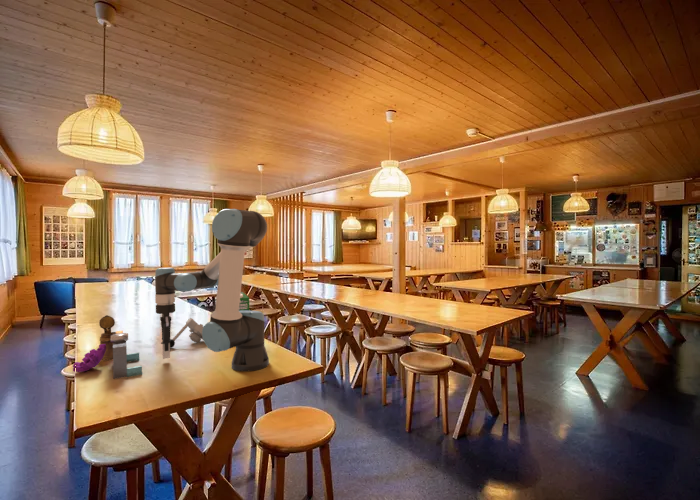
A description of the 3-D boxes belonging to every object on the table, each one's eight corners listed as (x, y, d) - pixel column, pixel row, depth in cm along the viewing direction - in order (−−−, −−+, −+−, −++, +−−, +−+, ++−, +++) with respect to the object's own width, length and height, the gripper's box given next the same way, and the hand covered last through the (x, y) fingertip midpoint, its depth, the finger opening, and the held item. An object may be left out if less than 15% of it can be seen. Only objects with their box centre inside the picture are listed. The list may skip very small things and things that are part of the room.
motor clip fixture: (142, 374, 141) (141, 338, 141) (110, 380, 136) (110, 342, 136) (139, 359, 160) (138, 327, 160) (111, 363, 155) (111, 330, 155)
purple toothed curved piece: (106, 362, 156) (105, 340, 156) (106, 373, 144) (105, 349, 144) (73, 368, 150) (73, 345, 150) (70, 379, 137) (70, 354, 137)
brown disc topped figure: (118, 351, 173) (117, 313, 173) (122, 357, 163) (122, 318, 163) (95, 354, 168) (95, 316, 167) (98, 362, 157) (98, 321, 157)
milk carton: (233, 343, 185) (232, 294, 185) (226, 339, 192) (226, 293, 192) (250, 340, 191) (249, 293, 191) (243, 336, 198) (242, 291, 198)
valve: (214, 334, 188) (194, 316, 182) (190, 364, 178) (167, 345, 171) (205, 333, 195) (186, 315, 189) (181, 361, 185) (159, 343, 178)
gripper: (177, 304, 152) (177, 360, 153) (173, 300, 163) (174, 352, 164) (157, 306, 148) (157, 363, 149) (154, 302, 159) (155, 355, 160)
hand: (166, 357), depth 156 cm, fingers closed
